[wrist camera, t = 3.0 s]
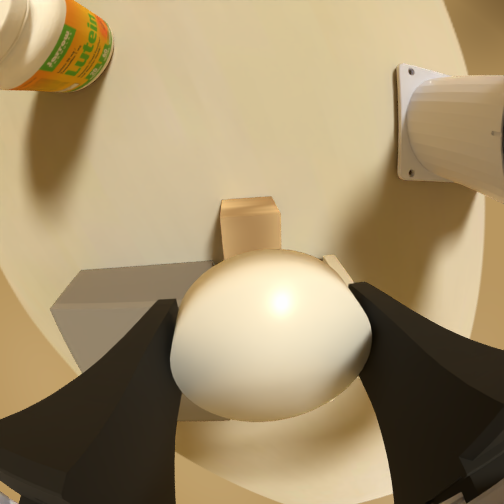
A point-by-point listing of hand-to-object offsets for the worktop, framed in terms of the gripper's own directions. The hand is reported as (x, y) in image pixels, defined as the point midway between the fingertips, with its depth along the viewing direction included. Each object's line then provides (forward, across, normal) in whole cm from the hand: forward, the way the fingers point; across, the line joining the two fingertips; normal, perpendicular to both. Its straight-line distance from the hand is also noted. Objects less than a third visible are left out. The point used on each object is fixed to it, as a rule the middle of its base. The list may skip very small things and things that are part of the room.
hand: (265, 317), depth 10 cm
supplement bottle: (+10, +10, -12) cm, 19 cm away
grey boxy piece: (+10, +8, +8) cm, 15 cm away
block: (+10, 0, 0) cm, 10 cm away
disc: (-1, 0, 0) cm, 1 cm away
